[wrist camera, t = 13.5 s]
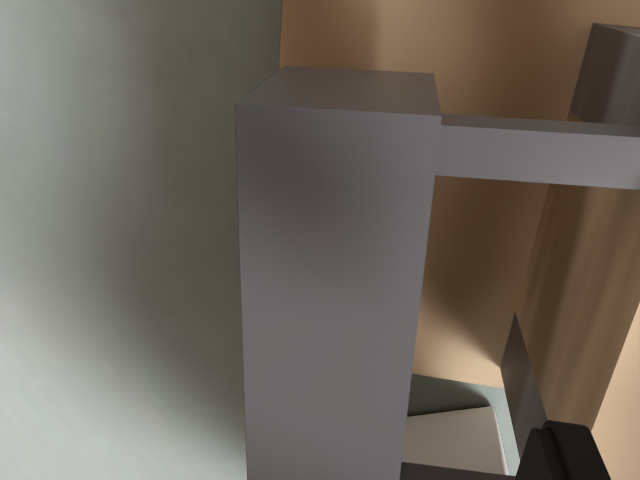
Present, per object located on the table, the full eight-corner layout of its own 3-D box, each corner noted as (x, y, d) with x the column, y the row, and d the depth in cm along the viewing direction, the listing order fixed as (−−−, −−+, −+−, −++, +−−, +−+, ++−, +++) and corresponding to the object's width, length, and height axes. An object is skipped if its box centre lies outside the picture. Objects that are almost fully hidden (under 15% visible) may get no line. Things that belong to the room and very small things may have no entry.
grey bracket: (283, 388, 21) (248, 505, 16) (284, 65, 16) (234, 103, 11) (611, 426, 19) (671, 565, 15) (716, 87, 15) (850, 140, 10)
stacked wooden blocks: (271, 329, 24) (196, 522, 16) (293, -42, 18) (192, -50, 10) (592, 378, 23) (696, 615, 15) (727, 0, 17) (1033, 30, 9)
